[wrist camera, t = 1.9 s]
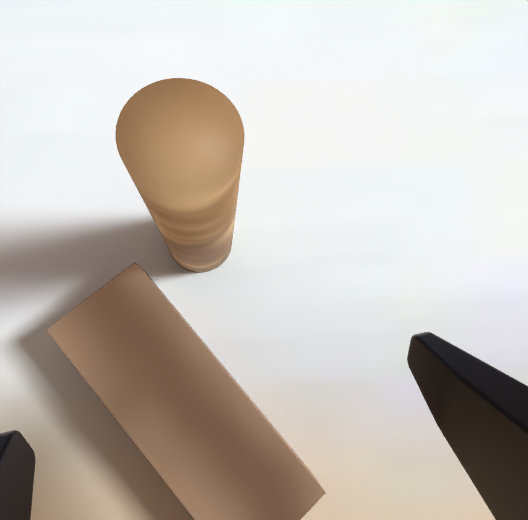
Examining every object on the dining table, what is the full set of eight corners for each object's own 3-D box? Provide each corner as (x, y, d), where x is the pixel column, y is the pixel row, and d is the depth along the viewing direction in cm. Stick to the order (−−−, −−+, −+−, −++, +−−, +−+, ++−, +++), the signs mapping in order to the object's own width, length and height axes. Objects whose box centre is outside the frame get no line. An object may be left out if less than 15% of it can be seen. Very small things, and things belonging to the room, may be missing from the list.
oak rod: (195, 284, 22) (170, 218, 11) (156, 237, 23) (88, 122, 11) (244, 245, 23) (269, 144, 11) (205, 200, 23) (190, 57, 12)
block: (238, 545, 20) (242, 580, 17) (70, 332, 21) (46, 330, 18) (310, 472, 21) (325, 492, 18) (146, 273, 22) (135, 262, 19)
